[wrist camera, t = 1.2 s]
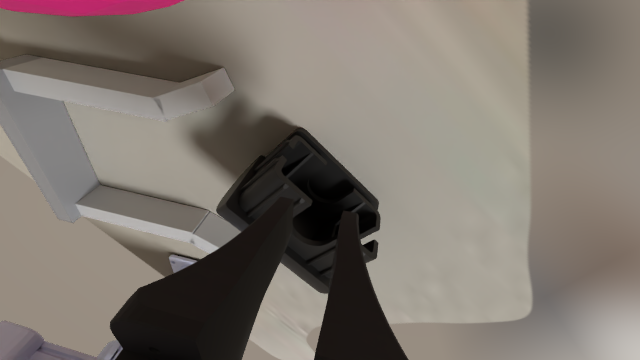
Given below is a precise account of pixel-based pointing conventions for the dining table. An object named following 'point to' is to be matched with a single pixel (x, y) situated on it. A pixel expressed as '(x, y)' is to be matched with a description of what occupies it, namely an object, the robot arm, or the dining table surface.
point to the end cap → (304, 204)
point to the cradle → (70, 157)
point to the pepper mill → (85, 6)
